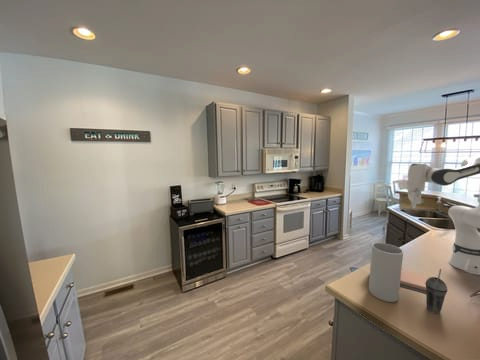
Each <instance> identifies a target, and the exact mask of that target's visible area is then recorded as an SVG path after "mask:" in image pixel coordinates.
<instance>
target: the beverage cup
mask: <svg viewBox="0 0 480 360" xmlns="http://www.w3.org/2000/svg"><path fill="white" fill-rule="evenodd" d="M441 273H442V268H439V271H438V276H437V277H435V276H432V277H429V278H428V279H427V281H426V283H425V284H426V294H425V295H426V296H425V297H426V298H425V299H426V300H425V301H426V302H425V303H426V309H427V310H428V311H430V312H431V313H433V314H436V315H437V314H438V315H439V314H441V311H442V308H443V304H444V301H445V298H446V295H447V292H448V286H447V284H446V282H445V281H443V279H441Z"/></svg>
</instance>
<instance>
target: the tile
mask: <svg viewBox="0 0 480 360" xmlns="http://www.w3.org/2000/svg"><path fill="white" fill-rule="evenodd" d="M428 278H430V277H429V275H428V274H422V273H419V272H415V271H411V270H407V269H401V279H400V284H403V285H407V286H411V287H414V288H418V289H421V290H425V291H426V284H425V283H426V281H427V279H428Z"/></svg>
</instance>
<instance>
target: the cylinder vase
mask: <svg viewBox="0 0 480 360" xmlns="http://www.w3.org/2000/svg"><path fill="white" fill-rule="evenodd" d="M370 256H371V257H370V268H369V281H368V291H369V293H370V294H371V295H372V296H373V297H375V298H376V299H379V300H381V301H384V302H387V303H396V302H397V301H398V300H399V297H400V279H401V269H402V268H403V260H404V258H403V257H404V250H403V249H402V248H400V247H398V246H395V245H394V244H393V245H392V244H391V243H390V244H389V243H384V242H373V243H372V244H371V255H370Z"/></svg>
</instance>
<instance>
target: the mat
mask: <svg viewBox="0 0 480 360" xmlns="http://www.w3.org/2000/svg"><path fill="white" fill-rule="evenodd" d="M400 287H402V288H404V289H408V290H412V291H415V292H418V293H423V294H425V295H426V291H425V290H421V289H418V288H414V287H411V286H407V285H403V284H400Z"/></svg>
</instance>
